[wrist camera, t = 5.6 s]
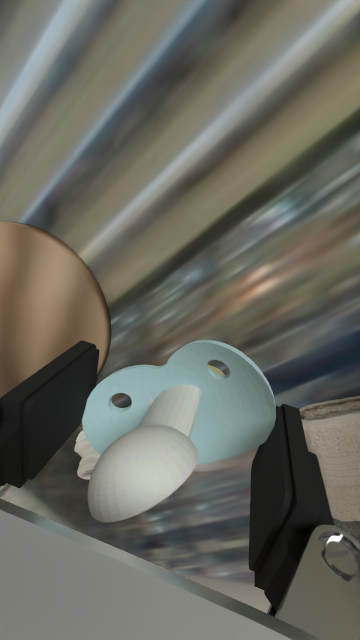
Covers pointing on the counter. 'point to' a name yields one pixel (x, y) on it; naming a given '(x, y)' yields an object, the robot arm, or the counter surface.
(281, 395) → the counter surface
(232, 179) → the counter surface
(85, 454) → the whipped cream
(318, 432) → the washcloth
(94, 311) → the walnut board
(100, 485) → the pacifier
